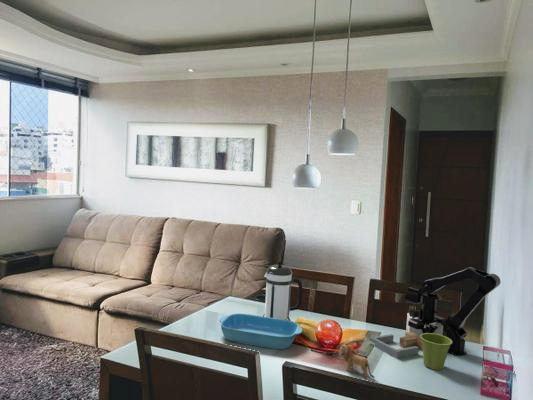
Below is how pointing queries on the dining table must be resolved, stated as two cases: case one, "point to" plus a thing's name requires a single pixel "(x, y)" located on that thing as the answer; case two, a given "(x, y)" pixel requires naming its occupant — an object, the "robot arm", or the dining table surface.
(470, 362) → the dining table surface
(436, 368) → the plant pot
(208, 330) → the dining table surface
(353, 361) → the lion figurine
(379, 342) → the dock
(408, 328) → the supplement box
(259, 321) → the casserole dish
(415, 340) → the t block
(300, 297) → the coffee press
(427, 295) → the robot arm
